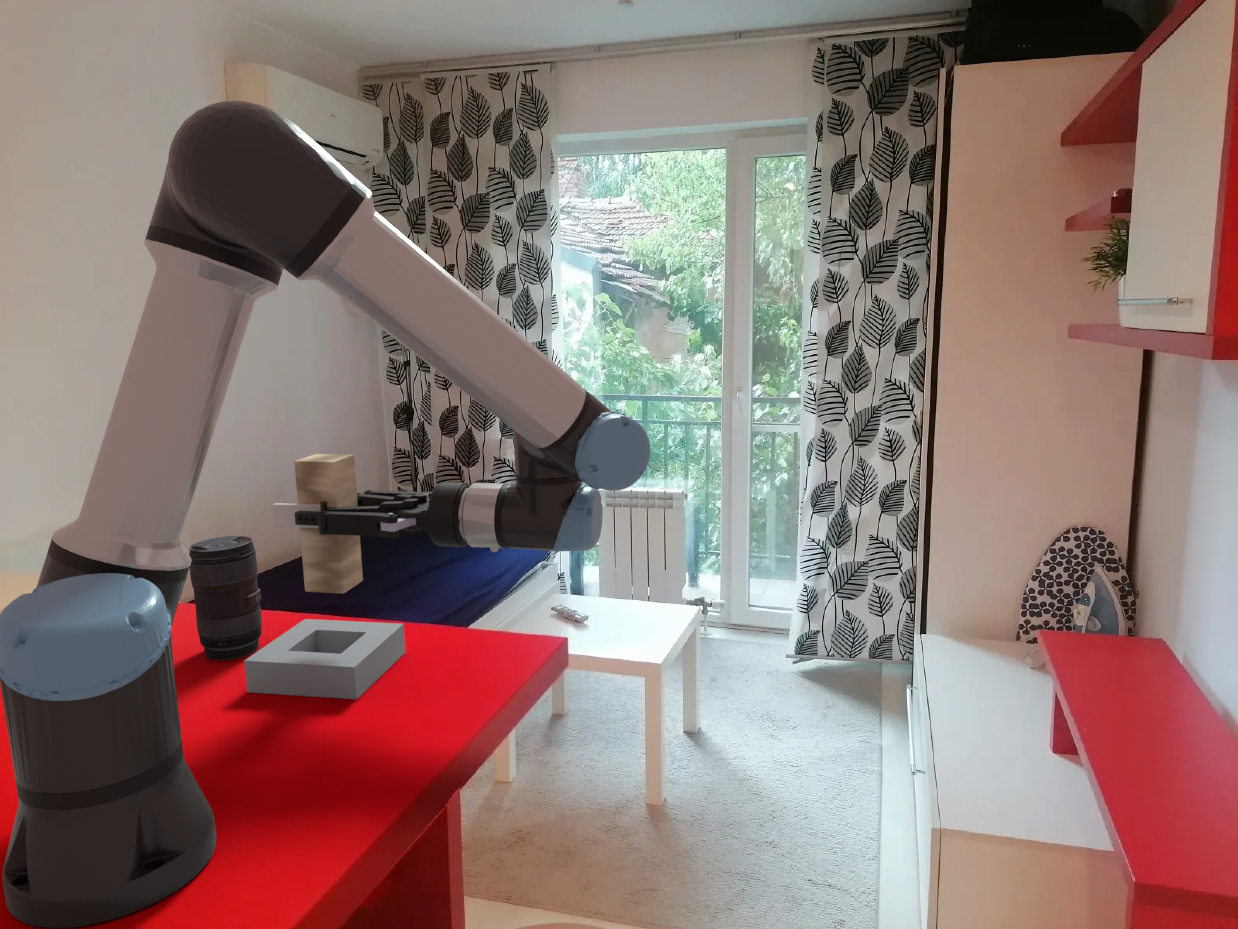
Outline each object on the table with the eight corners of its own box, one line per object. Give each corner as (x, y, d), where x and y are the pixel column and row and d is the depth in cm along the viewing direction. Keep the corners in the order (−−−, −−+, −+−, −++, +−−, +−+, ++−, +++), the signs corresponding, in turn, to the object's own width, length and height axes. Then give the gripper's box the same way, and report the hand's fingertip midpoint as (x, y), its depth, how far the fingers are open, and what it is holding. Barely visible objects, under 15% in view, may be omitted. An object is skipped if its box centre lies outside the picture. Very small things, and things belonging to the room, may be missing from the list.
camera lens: (246, 634, 123) (236, 531, 121) (276, 648, 118) (266, 541, 115) (188, 652, 117) (176, 544, 114) (216, 668, 112) (204, 554, 109)
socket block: (405, 652, 116) (403, 623, 115) (356, 699, 102) (354, 667, 102) (307, 647, 118) (305, 619, 118) (247, 692, 105) (244, 660, 104)
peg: (362, 580, 110) (354, 454, 107) (343, 593, 105) (333, 462, 102) (326, 578, 111) (316, 453, 108) (305, 591, 106) (294, 461, 103)
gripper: (441, 568, 95) (247, 560, 99) (495, 526, 112) (328, 520, 116) (437, 501, 93) (240, 495, 98) (493, 469, 111) (324, 465, 115)
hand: (288, 509), depth 107 cm, fingers closed on peg, 5 cm apart
